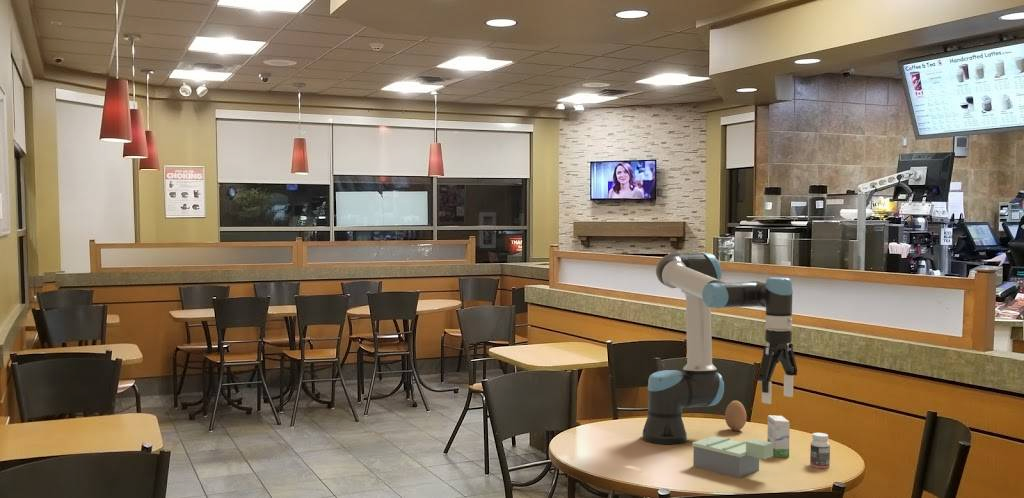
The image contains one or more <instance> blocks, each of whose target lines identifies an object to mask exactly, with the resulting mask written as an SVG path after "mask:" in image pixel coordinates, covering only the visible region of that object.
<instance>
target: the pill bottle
mask: <svg viewBox="0 0 1024 498" xmlns="http://www.w3.org/2000/svg"><path fill="white" fill-rule="evenodd" d="M811 435H812V436H811V437H812V440H811V441H810V457H809V458H810V459H809V461H810V463H809V464H810V466H811V467H814V468H815V469H816V468H817V469H827V468H830V464H831V463H830V462H831V444H830V442H829V434H827V433H825V432H824V433H823V432H812V434H811Z"/></svg>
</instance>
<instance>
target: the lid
mask: <svg viewBox="0 0 1024 498" xmlns="http://www.w3.org/2000/svg"><path fill="white" fill-rule="evenodd" d="M694 446H695V447H699V448H703V449H707V450H711V451H715V452H720V453H724V454H728V455H732V456H736V457H742V456H745V455H747V456H751V457H756V458H759V460H760V459H761V460H766V459H770V458H772V457H774V455H773V443H772V442H767V440H762V439H758V438H753V439H750V440H748V441H746V440H742V441H737V440H732V439H731V438H730V437H720V436H714V435H713V436H710V437H707V438H702V439H700V440H696V441H693V442H692V444H691V447H694Z"/></svg>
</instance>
